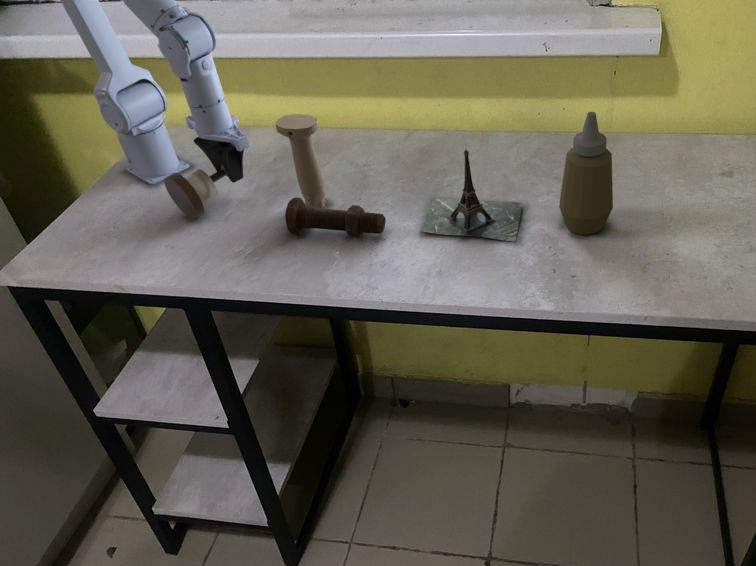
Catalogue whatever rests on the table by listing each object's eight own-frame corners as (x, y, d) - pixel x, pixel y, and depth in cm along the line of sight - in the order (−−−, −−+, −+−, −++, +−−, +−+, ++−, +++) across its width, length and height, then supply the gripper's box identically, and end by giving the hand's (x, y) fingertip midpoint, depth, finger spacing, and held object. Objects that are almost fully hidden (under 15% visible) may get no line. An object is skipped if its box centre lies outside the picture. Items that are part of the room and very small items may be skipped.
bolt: (384, 246, 111) (294, 238, 113) (390, 217, 112) (301, 210, 115) (375, 230, 105) (281, 222, 108) (381, 200, 107) (288, 192, 109)
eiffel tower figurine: (524, 205, 114) (523, 127, 105) (515, 241, 107) (513, 161, 98) (434, 200, 117) (425, 124, 108) (419, 235, 110) (408, 157, 100)
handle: (328, 216, 115) (308, 130, 105) (293, 212, 117) (270, 127, 107) (340, 200, 119) (322, 115, 108) (306, 197, 120) (284, 112, 110)
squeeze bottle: (615, 214, 110) (626, 103, 98) (605, 243, 105) (615, 130, 93) (565, 207, 113) (569, 98, 100) (552, 236, 107) (555, 124, 95)
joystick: (231, 177, 125) (214, 138, 119) (257, 190, 121) (241, 150, 115) (177, 210, 119) (157, 171, 114) (202, 225, 116) (183, 185, 110)
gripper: (254, 101, 109) (276, 179, 119) (201, 80, 117) (226, 155, 126) (216, 118, 106) (242, 197, 115) (164, 96, 113) (192, 172, 122)
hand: (231, 176), depth 120 cm, fingers closed on joystick, 3 cm apart
